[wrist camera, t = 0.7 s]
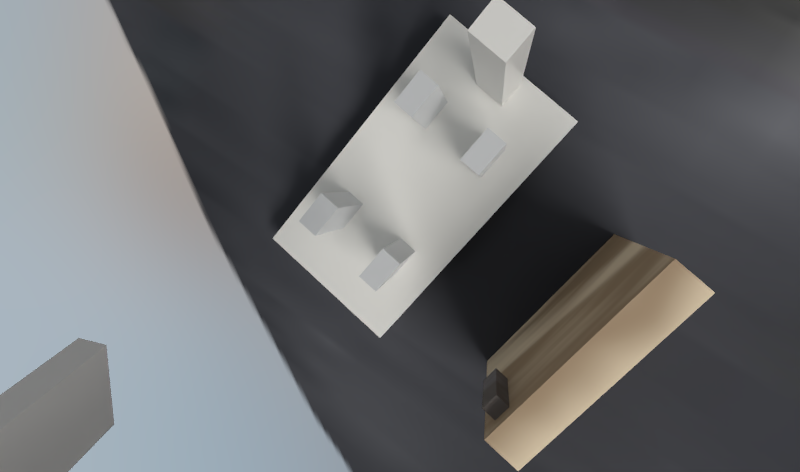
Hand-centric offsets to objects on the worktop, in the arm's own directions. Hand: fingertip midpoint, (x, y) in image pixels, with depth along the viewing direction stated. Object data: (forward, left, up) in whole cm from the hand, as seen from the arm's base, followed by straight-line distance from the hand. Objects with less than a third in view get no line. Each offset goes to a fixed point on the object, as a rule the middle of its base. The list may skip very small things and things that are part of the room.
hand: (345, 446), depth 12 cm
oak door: (-9, -3, -26) cm, 28 cm away
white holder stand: (+6, -3, -26) cm, 27 cm away
